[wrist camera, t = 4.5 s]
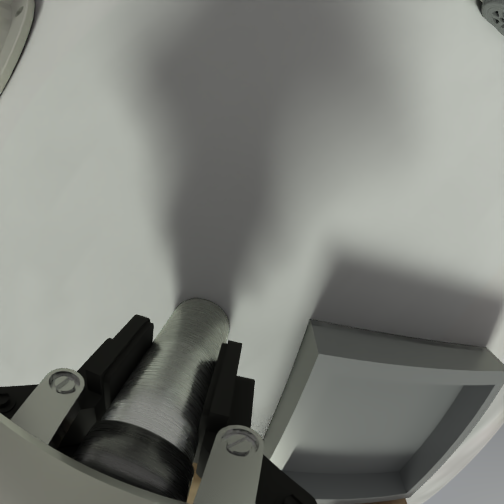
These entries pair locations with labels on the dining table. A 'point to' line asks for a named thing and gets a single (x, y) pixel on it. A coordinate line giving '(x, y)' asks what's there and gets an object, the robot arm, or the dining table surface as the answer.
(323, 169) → the dining table surface
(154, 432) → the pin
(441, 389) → the tray
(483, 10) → the toy car
